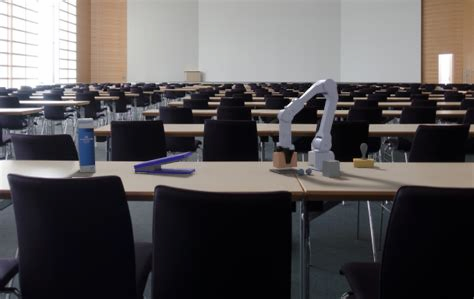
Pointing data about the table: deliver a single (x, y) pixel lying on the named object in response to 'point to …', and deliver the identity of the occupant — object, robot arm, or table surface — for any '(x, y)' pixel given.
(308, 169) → the marble
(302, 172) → the marble
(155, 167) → the stapler
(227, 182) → the table surface
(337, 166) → the grey rectangular block
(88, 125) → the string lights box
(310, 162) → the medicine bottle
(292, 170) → the charcoal mat
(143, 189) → the table surface
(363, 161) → the rubber stamp
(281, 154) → the salmon rectangular prism
